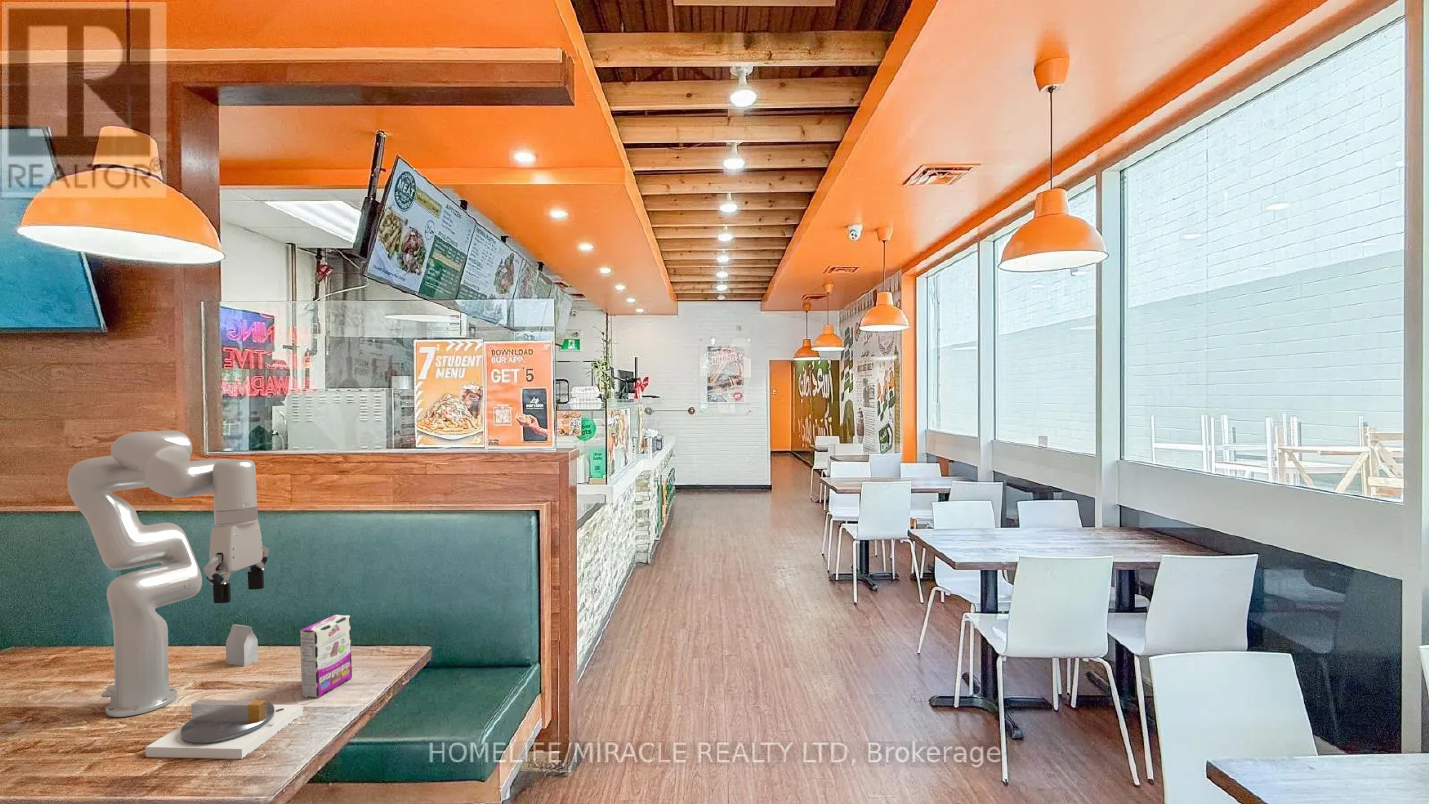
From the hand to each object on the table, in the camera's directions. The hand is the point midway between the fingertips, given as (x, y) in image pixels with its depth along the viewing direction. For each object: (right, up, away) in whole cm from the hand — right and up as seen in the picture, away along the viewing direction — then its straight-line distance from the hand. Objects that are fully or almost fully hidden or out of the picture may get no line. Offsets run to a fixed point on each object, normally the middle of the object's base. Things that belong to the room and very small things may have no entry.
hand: (239, 595), depth 139 cm
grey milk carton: (-26, -29, +35) cm, 53 cm away
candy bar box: (+7, -29, +20) cm, 36 cm away
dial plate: (-1, -29, -2) cm, 29 cm away
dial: (-1, -27, -2) cm, 27 cm away
